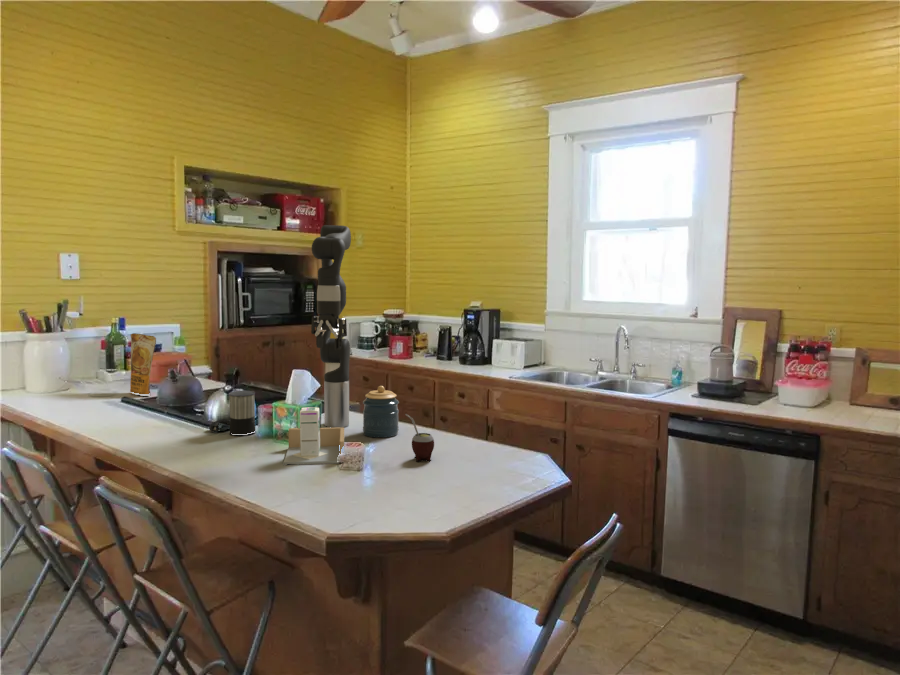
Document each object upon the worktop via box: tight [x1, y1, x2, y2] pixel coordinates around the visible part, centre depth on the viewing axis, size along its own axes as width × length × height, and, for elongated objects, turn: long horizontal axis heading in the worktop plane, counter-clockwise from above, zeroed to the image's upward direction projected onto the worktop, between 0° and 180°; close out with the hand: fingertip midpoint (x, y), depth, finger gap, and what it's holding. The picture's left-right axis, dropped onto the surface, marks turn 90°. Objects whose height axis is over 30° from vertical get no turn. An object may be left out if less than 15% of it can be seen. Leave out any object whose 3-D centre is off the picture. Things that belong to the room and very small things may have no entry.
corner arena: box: [283, 427, 345, 466], centre depth 204 cm, size 18×18×7 cm
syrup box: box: [299, 406, 321, 456], centre depth 202 cm, size 6×6×14 cm
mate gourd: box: [404, 413, 435, 463], centre depth 201 cm, size 8×8×15 cm
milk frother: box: [209, 390, 256, 434], centre depth 231 cm, size 14×16×15 cm
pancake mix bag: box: [129, 332, 157, 394], centre depth 296 cm, size 7×19×28 cm, turn 51°
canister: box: [362, 385, 400, 438], centre depth 233 cm, size 13×13×18 cm
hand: (328, 348), depth 212 cm, fingers open, 8 cm apart
